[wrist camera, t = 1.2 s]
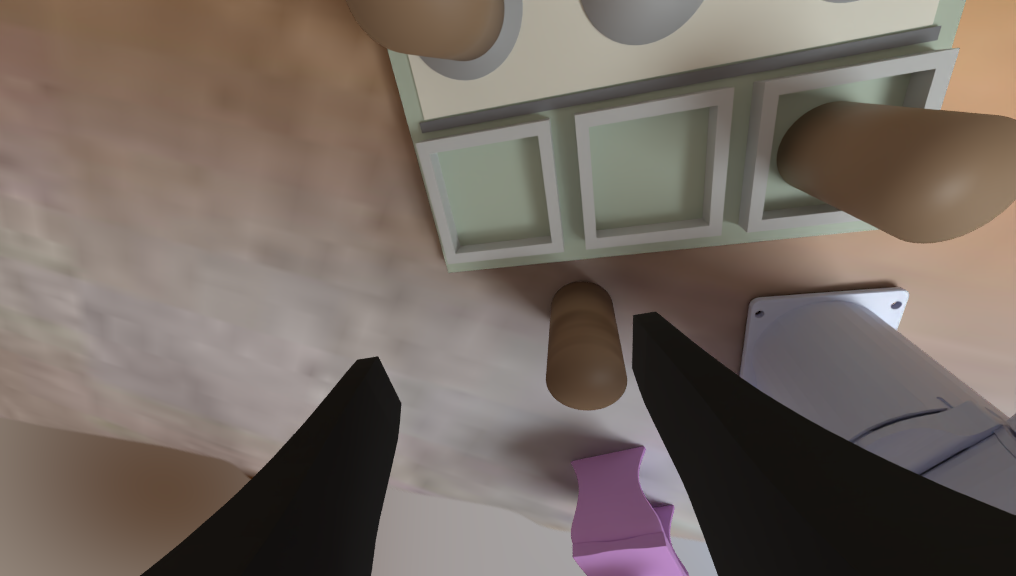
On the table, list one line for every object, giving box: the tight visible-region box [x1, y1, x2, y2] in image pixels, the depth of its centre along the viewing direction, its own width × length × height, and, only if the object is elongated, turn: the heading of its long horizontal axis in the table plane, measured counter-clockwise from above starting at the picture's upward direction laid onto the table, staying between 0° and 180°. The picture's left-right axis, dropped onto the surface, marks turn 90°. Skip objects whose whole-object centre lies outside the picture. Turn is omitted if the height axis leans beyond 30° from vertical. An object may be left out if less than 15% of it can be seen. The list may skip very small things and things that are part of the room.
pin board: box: [346, 0, 1016, 273], centre depth 15 cm, size 17×24×8 cm
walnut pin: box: [546, 281, 627, 410], centre depth 22 cm, size 4×4×7 cm
